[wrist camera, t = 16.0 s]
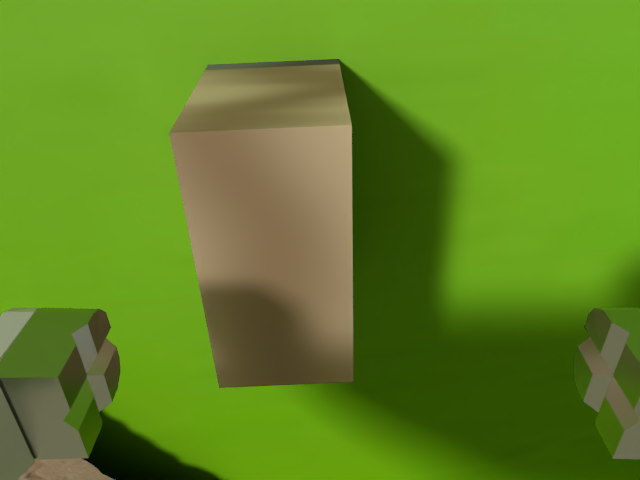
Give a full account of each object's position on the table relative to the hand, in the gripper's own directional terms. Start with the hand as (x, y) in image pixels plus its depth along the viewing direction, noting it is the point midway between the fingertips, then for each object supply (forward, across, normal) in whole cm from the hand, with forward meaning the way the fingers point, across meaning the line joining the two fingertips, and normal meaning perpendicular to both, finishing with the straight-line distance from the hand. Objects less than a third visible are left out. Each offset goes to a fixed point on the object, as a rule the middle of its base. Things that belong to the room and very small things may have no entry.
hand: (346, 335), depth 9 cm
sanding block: (+8, +2, +1) cm, 8 cm away
